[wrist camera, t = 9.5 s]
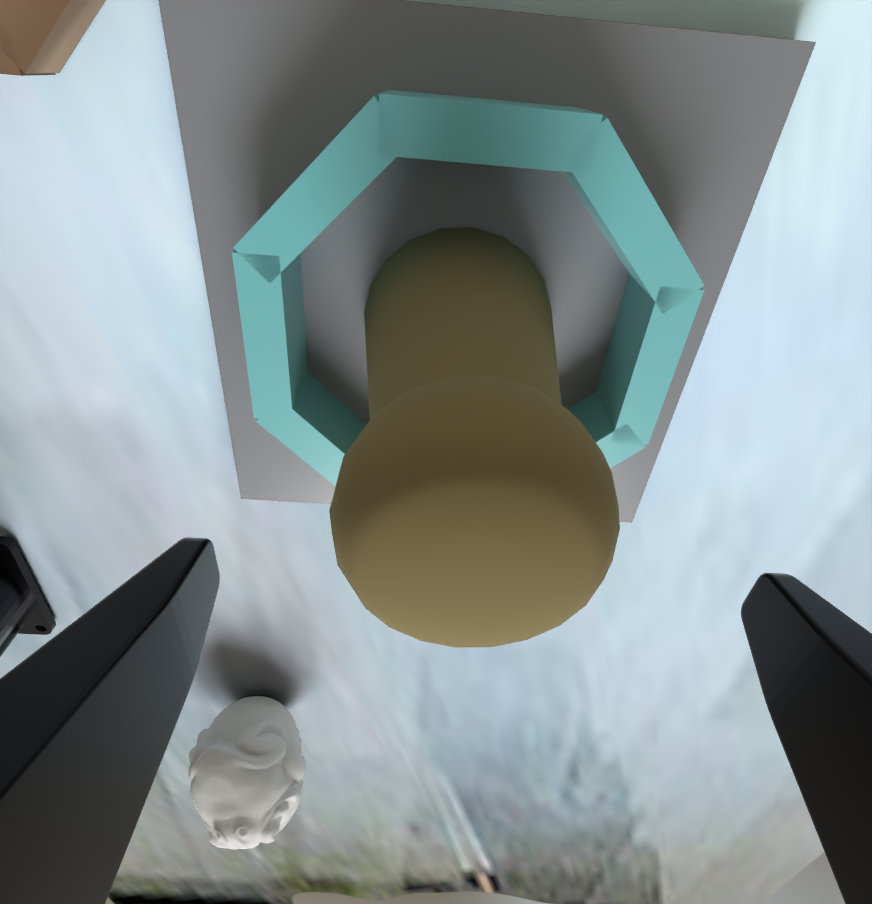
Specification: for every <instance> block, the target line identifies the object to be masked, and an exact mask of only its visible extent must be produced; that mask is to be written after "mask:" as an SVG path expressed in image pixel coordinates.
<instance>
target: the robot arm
mask: <svg viewBox="0 0 872 904" xmlns="http://www.w3.org/2000/svg"><path fill="white" fill-rule="evenodd" d="M219 580H220V576H219V570H218V565H217V561H216V556H215V551H214V547H213V544H212V542H211V541H210V540H209V539H204V538H183V539H181V540H180V541H178V542H177V543H176V544H174V545H173V546H172V547H170V548H169V549H168V550H166V551H165V552H164V553H163V554H161V555H160V556H159V557H157V558H156V559H155V560H154V561H152V562H151V563H150V564H148V565H147V566H146V567H144V568H143V569H142V570H141V571H139V572H138V573H137V574H135V575H134V576H133V577H132V578H130V579H129V580H128V581H126V582H125V583H124V584H122V585H121V586H120V587H119V588H117V589H116V590H115V591H113V592H112V593H111V594H110V595H108V596H107V597H106V598H104V599H103V600H102V601H100V602H99V603H98V604H97V605H95V606H94V607H93V608H91V609H90V610H89V611H88V612H86V613H85V614H84V615H82V616H81V617H80V618H78V619H77V620H76V621H75V622H73V623H72V624H71V625H69V626H68V627H67V628H65V629H64V630H63V631H62V632H60V633H59V634H58V635H56V636H55V637H54V638H53V639H51V640H50V641H49V642H47V643H46V644H45V645H43V646H42V647H41V648H40V649H38V650H37V651H36V652H34V653H33V654H32V655H31V656H29V657H28V658H27V659H25V660H24V661H23V662H21V663H20V664H19V665H18V666H16V667H15V668H14V669H12V670H11V671H10V672H9V673H7V674H6V675H5V676H3V677H2V678H1V679H0V904H105V903H106V900H107V897H108V895H109V892H110V890H111V887H112V885H113V882H114V880H115V877H116V875H117V872H118V870H119V867H120V865H121V862H122V859H123V857H124V854H125V852H126V849H127V847H128V844H129V842H130V839H131V837H132V834H133V832H134V829H135V827H136V824H137V822H138V819H139V816H140V814H141V811H142V809H143V806H144V804H145V801H146V799H147V796H148V794H149V791H150V789H151V786H152V784H153V781H154V778H155V776H156V773H157V771H158V768H159V766H160V763H161V761H162V758H163V756H164V753H165V751H166V748H167V746H168V743H169V740H170V738H171V735H172V733H173V730H174V728H175V725H176V723H177V720H178V718H179V715H180V713H181V710H182V708H183V705H184V703H185V700H186V697H187V695H188V692H189V690H190V687H191V684H192V681H193V679H194V676H195V672H196V669H197V665H198V662H199V658H200V654H201V651H202V647H203V643H204V640H205V636H206V632H207V629H208V625H209V621H210V617H211V614H212V610H213V606H214V603H215V599H216V595H217V592H218V587H219ZM741 617H742V621H743V625H744V628H745V632H746V635H747V639H748V642H749V646H750V649H751V653H752V656H753V660H754V663H755V667H756V670H757V674H758V677H759V681H760V684H761V688H762V691H763V695H764V698H765V701H766V704H767V707H768V710H769V712H770V715H771V718H772V721H773V723H774V726H775V728H776V731H777V733H778V736H779V738H780V741H781V743H782V746H783V748H784V751H785V753H786V756H787V758H788V761H789V763H790V766H791V768H792V771H793V773H794V776H795V778H796V781H797V783H798V786H799V788H800V791H801V793H802V796H803V798H804V801H805V804H806V806H807V809H808V811H809V814H810V816H811V819H812V821H813V824H814V826H815V829H816V831H817V834H818V836H819V839H820V841H821V844H822V846H823V849H824V851H825V854H826V856H827V858H828V861H829V864H830V866H831V869H832V871H833V873H834V876H835V879H836V881H837V884H838V886H839V889H840V891H841V894H842V896H843V899H844V901H845V904H872V634H871V633H870V632H869V631H867V630H866V629H865V628H863V627H862V626H861V625H859V624H858V623H856V622H855V621H854V620H852V619H851V618H850V617H848V616H847V615H845V614H844V613H843V612H841V611H840V610H839V609H837V608H836V607H835V606H833V605H832V604H830V603H829V602H828V601H826V600H825V599H824V598H822V597H821V596H819V595H818V594H817V593H815V592H814V591H813V590H811V589H810V588H809V587H807V586H806V585H804V584H803V583H802V582H800V581H799V580H798V579H796V578H795V577H793V576H791V575H788V574H780V573H764V574H762V575H761V576H760V577H759V578H758V579H757V581H756V583H755V584H754V586H753V588H752V589H751V591H750V592H749V594H748V596H747V597H746V599H745V601H744V602H743V604H742V608H741ZM55 626H56V622H55V620H54V618H53V616H52V614H51V612H50V610H49V608H48V606H47V604H46V602H45V600H44V598H43V596H42V595H41V593H40V591H39V589H38V587H37V585H36V583H35V581H34V579H33V577H32V575H31V573H30V571H29V569H28V567H27V565H26V563H25V561H24V559H23V557H22V555H21V553H20V551H19V549H18V547H17V545H16V544H15V542H14V541H12V540H11V539H9V538H7V537H4V536H0V657H1V655H2V654H3V652H4V651H5V650H6V648H7V647H8V646H9V644H10V643H11V642H12V640H13V639H14V638H15V636H16V635H17V633H21V634H41V635H46V634H50V633H51V632H52V630H53V629H54V627H55Z"/></svg>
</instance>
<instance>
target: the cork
mask: <svg viewBox="0 0 872 904" xmlns="http://www.w3.org/2000/svg"><path fill="white" fill-rule="evenodd" d="M364 320H365V340H366V359H367V378H368V397H369V417H370V421H369V422H368V424H367V425H366V426H365V428H364V429H363V430H362V432H361V433H360V435H359V436H358V437H357V439H356V440H355V441H354V443H353V444H352V445H351V447H350V448H349V450H348V451H347V452H346V454H345V455H344V456H343V460H342V464H341V468H340V471H339V475H338V479H337V483H336V487H335V491H334V495H333V499H332V503H331V507H330V520H331V528H332V535H333V541H334V547H335V552H336V558H337V564H338V566H339V568H340V569H341V571H342V572H343V574H344V575H345V577H346V579H347V580H348V582H349V583H350V585H351V586H352V588H353V590H354V591H355V593H356V594H357V596H358V597H359V599H360V600H361V602H362V604H363V605H364V607H365V608H366V609H367V610H369V611H370V612H371V613H372V614H374V615H375V616H376V617H377V618H379V619H380V620H381V621H382V622H384V623H385V624H386V625H388V626H389V627H390V628H392V629H395V630H397V631H399V632H402V633H404V634H406V635H409V636H411V637H413V638H416V639H418V640H420V641H425V642H430V643H435V644H441V645H446V646H451V647H495V646H499V645H504V644H509V643H514V642H519V641H523V640H528V639H530V638H532V637H535V636H537V635H539V634H541V633H544V632H546V631H548V630H551V629H553V628H555V627H557V626H560V625H561V624H562V623H564V622H565V621H566V620H567V619H569V618H570V617H571V616H573V615H574V614H575V613H577V612H578V611H579V610H580V609H582V608H583V607H584V606H586V604H587V603H588V601H589V600H590V599H591V597H592V596H593V594H594V593H595V591H596V590H597V589H598V587H599V586H600V584H601V583H602V581H603V580H604V578H605V576H606V573H607V571H608V569H609V567H610V565H611V563H612V560H613V556H614V551H615V547H616V543H617V538H618V534H619V530H620V524H619V505H618V500H617V495H616V490H615V485H614V481H613V476H612V471H611V469H610V467H609V465H608V463H607V461H606V458H605V456H604V454H603V452H602V451H601V449H600V448H599V446H598V445H597V444H596V442H595V441H594V439H593V438H592V437H591V435H590V434H589V432H588V431H587V430H586V428H585V427H584V425H583V424H582V423H581V421H580V420H579V419H577V418H576V417H575V416H574V415H573V414H572V413H571V412H570V411H569V410H568V409H566V408H565V407H563V406H562V405H561V395H560V386H559V376H558V367H557V357H556V348H555V338H554V329H553V319H552V310H551V305H550V301H549V297H548V292H547V288H546V284H545V280H544V279H543V277H542V276H541V274H540V273H539V271H538V270H537V268H536V266H535V265H534V263H533V262H532V260H531V259H530V257H529V256H528V255H527V254H526V253H524V252H523V251H522V250H520V249H519V248H518V247H516V246H515V245H514V244H512V243H511V242H510V241H509V240H507V239H506V238H505V237H502V236H499V235H496V234H493V233H490V232H487V231H484V230H480V229H477V228H474V227H467V228H440V229H438V230H435V231H432V232H429V233H427V234H424V235H421V236H418V237H416V238H413V239H411V240H410V241H408V242H407V243H406V244H405V245H403V246H402V247H401V248H400V249H398V250H397V251H396V252H395V253H393V254H392V255H391V256H390V257H388V258H387V259H386V261H385V262H384V264H383V266H382V267H381V269H380V270H379V272H378V274H377V275H376V277H375V278H374V280H373V282H372V283H371V285H370V289H369V294H368V298H367V302H366V307H365V311H364Z"/></svg>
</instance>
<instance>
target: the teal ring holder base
mask: <svg viewBox="0 0 872 904" xmlns="http://www.w3.org/2000/svg"><path fill="white" fill-rule="evenodd" d="M159 5H160V11H161V17H162V23H163V29H164V35H165V41H166V48H167V54H168V60H169V66H170V72H171V78H172V84H173V90H174V96H175V102H176V108H177V114H178V120H179V126H180V132H181V138H182V144H183V150H184V156H185V162H186V169H187V175H188V181H189V187H190V193H191V199H192V205H193V211H194V217H195V223H196V229H197V235H198V241H199V247H200V253H201V259H202V265H203V271H204V277H205V284H206V290H207V296H208V302H209V308H210V314H211V320H212V326H213V332H214V338H215V344H216V350H217V356H218V362H219V368H220V374H221V380H222V386H223V392H224V398H225V405H226V411H227V417H228V423H229V429H230V435H231V441H232V447H233V453H234V459H235V465H236V471H237V477H238V483H239V489H240V495H241V499H255V500H272V501H288V502H305V503H321V504H331V503H332V499H333V495H334V491H335V487H336V483H337V479H338V475H339V471H340V468H341V464H342V460H343V456H344V455H345V454H346V452H347V451H348V450H349V448H350V447H351V445H352V444H353V443H354V441H355V440H356V439H357V437H358V436H359V435H360V433H361V432H362V430H363V429H364V428H365V426H366V425H367V424H368V422H369V421H370V417H369V397H368V378H367V359H366V340H365V320H364V311H365V307H366V302H367V298H368V294H369V289H370V285H371V283H372V282H373V280H374V278H375V277H376V275H377V274H378V272H379V270H380V269H381V267H382V266H383V264H384V262H385V261H386V259H387V258H388V257H390V256H391V255H392V254H393V253H395V252H396V251H397V250H398V249H400V248H401V247H402V246H403V245H405V244H406V243H407V242H408V241H410V240H411V239H413V238H416V237H418V236H421V235H424V234H427V233H429V232H432V231H435V230H438V229H440V228H467V227H474V228H477V229H480V230H484V231H487V232H490V233H493V234H496V235H499V236H502V237H505V238H506V239H507V240H509V241H510V242H511V243H512V244H514V245H515V246H516V247H518V248H519V249H520V250H522V251H523V252H524V253H526V254H527V255H528V256H529V257H530V259H531V260H532V262H533V263H534V265H535V266H536V268H537V270H538V271H539V273H540V274H541V276H542V277H543V279H544V280H545V284H546V288H547V292H548V297H549V301H550V305H551V310H552V319H553V329H554V338H555V348H556V357H557V367H558V376H559V386H560V395H561V405H562V406H563V407H565V408H566V409H568V410H569V411H570V412H571V413H572V414H573V415H574V416H575V417H576V418H577V419H579V420H580V421H581V423H582V424H583V425H584V427H585V428H586V430H587V431H588V432H589V434H590V435H591V437H592V438H593V439H594V441H595V442H596V444H597V445H598V446H599V448H600V449H601V451H602V452H603V454H604V456H605V458H606V461H607V463H608V465H609V467H610V469H611V471H612V476H613V481H614V485H615V490H616V495H617V500H618V505H619V522H632V521H633V518H634V516H635V513H636V511H637V508H638V505H639V503H640V500H641V497H642V495H643V492H644V490H645V487H646V484H647V482H648V479H649V477H650V474H651V471H652V469H653V466H654V464H655V461H656V458H657V456H658V453H659V451H660V448H661V445H662V443H663V440H664V437H665V435H666V432H667V430H668V427H669V424H670V422H671V419H672V417H673V414H674V411H675V409H676V406H677V404H678V401H679V398H680V396H681V393H682V390H683V388H684V385H685V383H686V380H687V377H688V375H689V372H690V370H691V367H692V364H693V362H694V359H695V357H696V354H697V351H698V349H699V346H700V343H701V341H702V338H703V336H704V333H705V330H706V328H707V325H708V323H709V320H710V317H711V315H712V312H713V310H714V307H715V304H716V302H717V299H718V296H719V294H720V291H721V289H722V286H723V283H724V281H725V278H726V276H727V273H728V270H729V268H730V265H731V263H732V260H733V257H734V255H735V252H736V249H737V247H738V244H739V242H740V239H741V236H742V234H743V231H744V229H745V226H746V223H747V221H748V218H749V216H750V213H751V210H752V208H753V205H754V202H755V200H756V197H757V195H758V192H759V189H760V187H761V184H762V182H763V179H764V176H765V174H766V171H767V169H768V166H769V163H770V161H771V158H772V155H773V153H774V150H775V148H776V145H777V142H778V140H779V137H780V135H781V132H782V129H783V127H784V124H785V122H786V119H787V116H788V114H789V111H790V108H791V106H792V103H793V101H794V98H795V95H796V93H797V90H798V88H799V85H800V82H801V80H802V77H803V75H804V72H805V69H806V67H807V64H808V61H809V59H810V56H811V54H812V51H813V48H814V46H815V43H816V42H809V41H800V40H790V39H780V38H770V37H760V36H750V35H740V34H730V33H720V32H710V31H700V30H690V29H680V28H670V27H660V26H650V25H640V24H630V23H620V22H610V21H600V20H591V19H581V18H571V17H561V16H551V15H541V14H531V13H521V12H511V11H501V10H491V9H481V8H471V7H461V6H451V5H441V4H431V3H421V2H411V1H401V0H159Z"/></svg>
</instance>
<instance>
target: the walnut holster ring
mask: <svg viewBox="0 0 872 904" xmlns="http://www.w3.org/2000/svg"><path fill="white" fill-rule="evenodd" d="M104 2H105V0H0V74H10V75H21V76H23V75H56V74H55V73H60V71H61V70H62V68H63V66H64V65H65V63H66V62H67V60H68V59H69V57H70V55H71V54H72V52H73V51H74V49H75V48H76V46H77V44H78V43H79V41H80V40H81V38H82V36H83V35H84V33H85V32H86V30H87V29H88V27H89V25H90V24H91V22H92V21H93V19H94V18H95V16H96V14H97V13H98V11H99V10H100V8H101V7H102V5H103V3H104Z"/></svg>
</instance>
